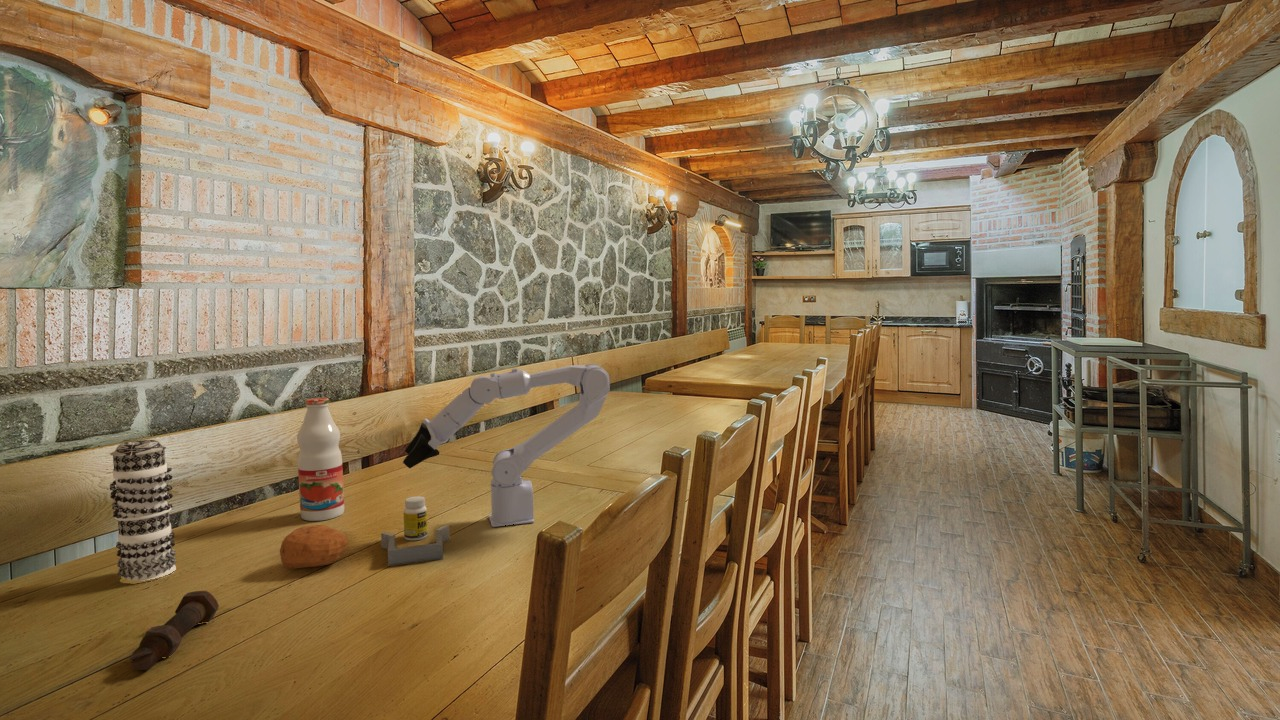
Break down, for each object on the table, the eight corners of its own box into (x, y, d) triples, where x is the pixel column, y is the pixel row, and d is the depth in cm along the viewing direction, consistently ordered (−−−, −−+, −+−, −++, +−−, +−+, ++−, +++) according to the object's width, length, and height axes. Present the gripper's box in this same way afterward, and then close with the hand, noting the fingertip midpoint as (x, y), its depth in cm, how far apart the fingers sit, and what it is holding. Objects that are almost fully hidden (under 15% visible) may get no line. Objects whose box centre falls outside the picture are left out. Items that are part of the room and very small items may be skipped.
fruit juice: (345, 507, 157) (340, 395, 155) (343, 518, 149) (338, 400, 146) (302, 512, 154) (296, 397, 151) (298, 524, 145) (292, 402, 143)
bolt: (137, 687, 86) (197, 628, 101) (170, 667, 86) (225, 611, 101) (110, 654, 85) (174, 600, 100) (144, 634, 85) (203, 583, 100)
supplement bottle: (420, 542, 134) (418, 503, 133) (399, 540, 134) (398, 501, 134) (432, 534, 138) (430, 496, 137) (412, 532, 139) (410, 495, 138)
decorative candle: (191, 567, 121) (182, 438, 119) (139, 588, 112) (128, 449, 110) (157, 561, 124) (148, 435, 122) (104, 581, 115) (93, 445, 113)
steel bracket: (449, 538, 136) (448, 524, 135) (452, 557, 125) (451, 543, 125) (381, 546, 131) (381, 532, 131) (378, 567, 120) (378, 552, 120)
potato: (301, 555, 127) (299, 519, 126) (357, 555, 126) (355, 519, 126) (273, 575, 118) (271, 535, 117) (333, 575, 117) (331, 536, 117)
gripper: (440, 397, 148) (396, 437, 147) (439, 413, 134) (391, 458, 133) (462, 417, 150) (418, 457, 149) (463, 435, 137) (416, 479, 135)
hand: (407, 459), depth 141 cm, fingers open, 7 cm apart
